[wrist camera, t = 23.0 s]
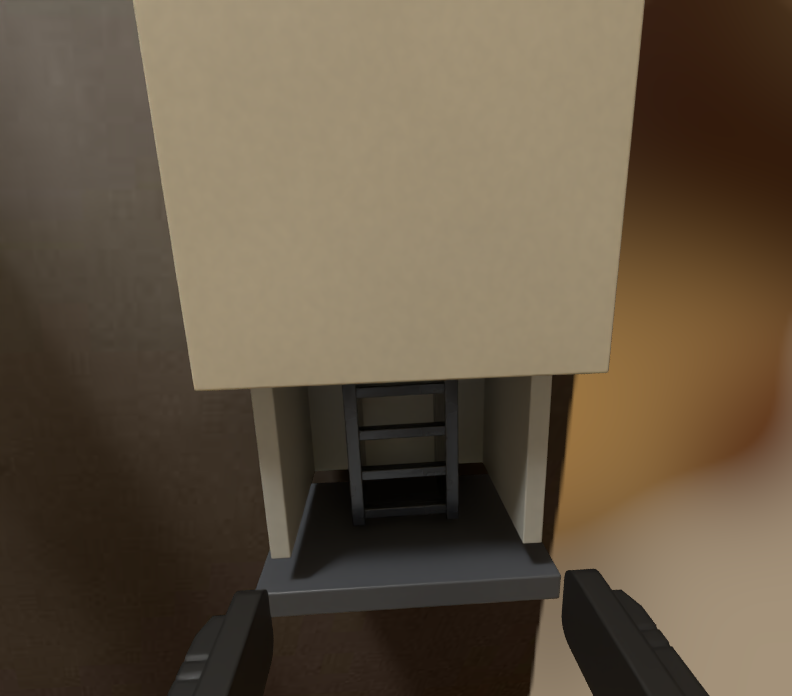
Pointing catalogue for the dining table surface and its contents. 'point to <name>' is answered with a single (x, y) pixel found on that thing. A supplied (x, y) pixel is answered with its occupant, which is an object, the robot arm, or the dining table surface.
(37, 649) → the dining table surface
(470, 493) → the two-tone hollow box
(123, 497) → the dining table surface
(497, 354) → the cream drawer box
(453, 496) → the rack
